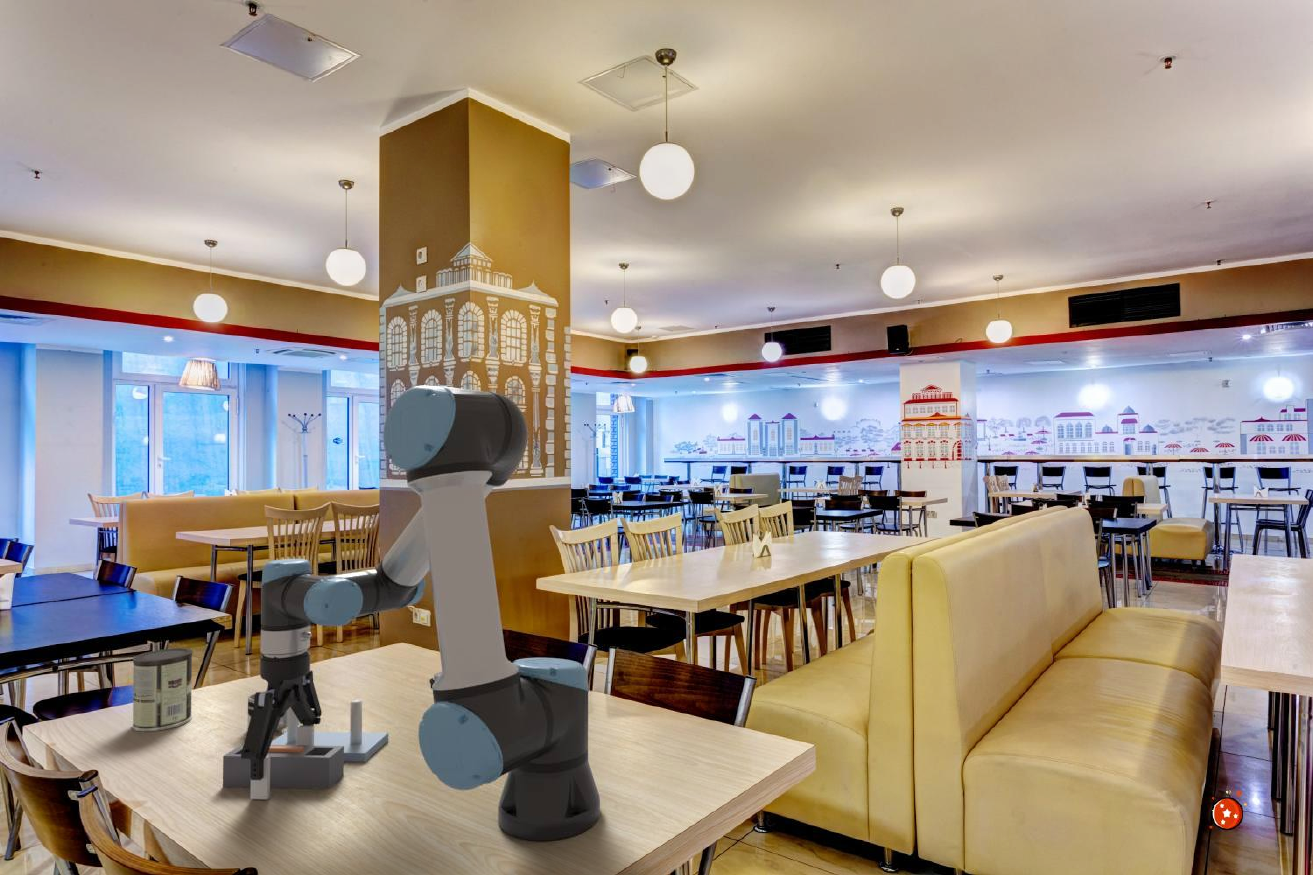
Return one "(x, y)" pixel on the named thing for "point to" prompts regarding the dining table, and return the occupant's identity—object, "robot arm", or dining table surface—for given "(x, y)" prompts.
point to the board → (340, 736)
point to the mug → (282, 721)
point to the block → (289, 767)
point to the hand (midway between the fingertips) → (283, 779)
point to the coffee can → (162, 689)
